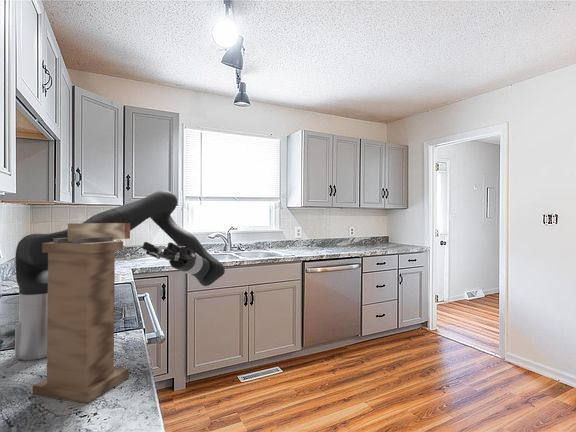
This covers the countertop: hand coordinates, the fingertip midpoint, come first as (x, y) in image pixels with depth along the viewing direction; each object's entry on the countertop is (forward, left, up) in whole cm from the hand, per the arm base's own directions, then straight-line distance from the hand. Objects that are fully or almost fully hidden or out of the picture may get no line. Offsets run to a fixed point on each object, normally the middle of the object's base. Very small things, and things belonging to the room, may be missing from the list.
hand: (156, 245), depth 99 cm
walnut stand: (-14, -20, -30) cm, 38 cm away
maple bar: (-11, -15, +2) cm, 19 cm away
